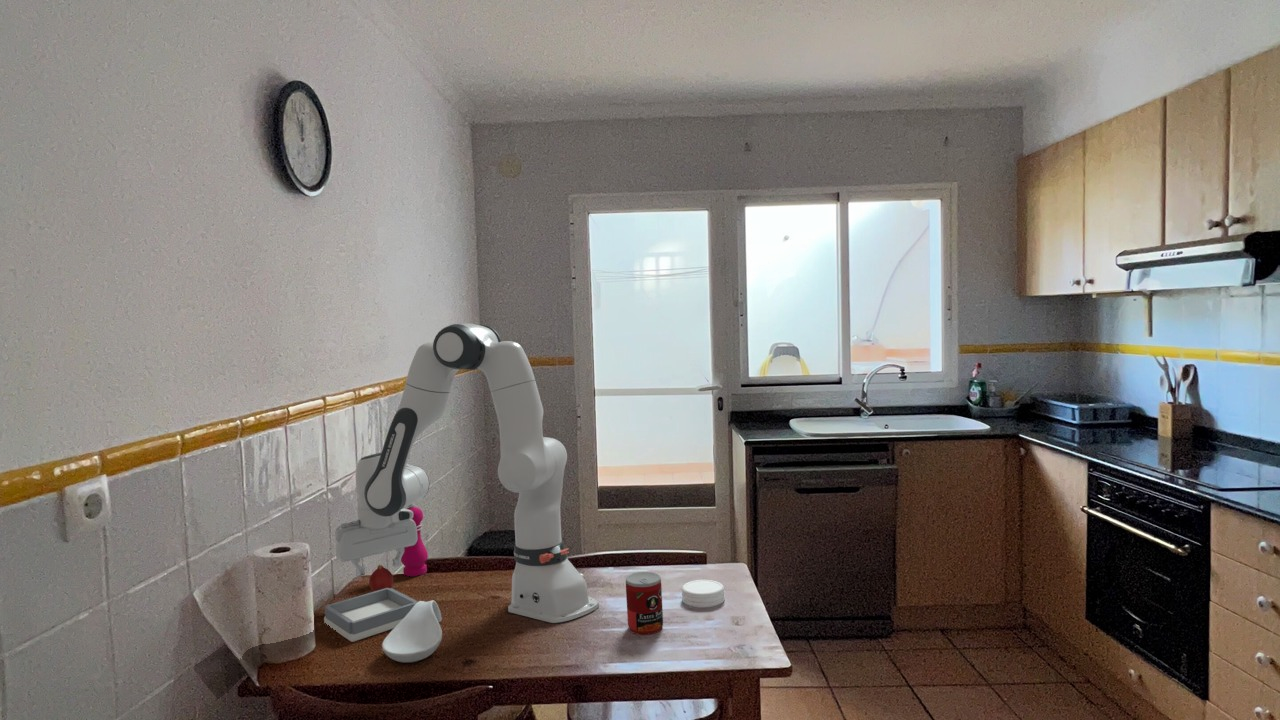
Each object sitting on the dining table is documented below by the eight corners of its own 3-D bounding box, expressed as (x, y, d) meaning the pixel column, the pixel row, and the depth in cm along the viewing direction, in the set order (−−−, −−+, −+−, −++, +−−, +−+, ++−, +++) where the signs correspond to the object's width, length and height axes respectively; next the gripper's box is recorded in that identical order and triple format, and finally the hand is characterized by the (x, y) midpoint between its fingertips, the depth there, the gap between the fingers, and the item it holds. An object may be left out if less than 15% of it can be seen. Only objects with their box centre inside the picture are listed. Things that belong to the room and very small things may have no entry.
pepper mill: (432, 568, 204) (428, 498, 204) (422, 577, 197) (418, 504, 197) (408, 568, 205) (404, 499, 204) (397, 577, 198) (392, 505, 197)
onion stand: (420, 619, 167) (419, 602, 167) (352, 642, 156) (350, 623, 156) (390, 603, 179) (389, 587, 178) (324, 623, 168) (323, 606, 167)
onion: (373, 592, 187) (371, 561, 187) (396, 590, 188) (394, 560, 187) (367, 600, 181) (365, 569, 181) (390, 598, 182) (388, 567, 181)
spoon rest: (437, 667, 142) (435, 632, 142) (376, 673, 141) (373, 637, 141) (456, 620, 166) (454, 590, 166) (404, 625, 165) (402, 594, 164)
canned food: (638, 638, 151) (635, 586, 150) (621, 625, 158) (619, 576, 157) (670, 630, 154) (667, 579, 154) (652, 617, 161) (650, 569, 161)
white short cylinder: (706, 590, 177) (706, 576, 177) (733, 601, 169) (732, 586, 169) (673, 600, 172) (673, 585, 172) (699, 612, 163) (698, 597, 163)
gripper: (340, 527, 174) (342, 583, 175) (419, 510, 188) (421, 563, 189) (330, 522, 179) (332, 577, 179) (408, 507, 193) (410, 558, 193)
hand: (379, 570), depth 184 cm, fingers open, 8 cm apart
